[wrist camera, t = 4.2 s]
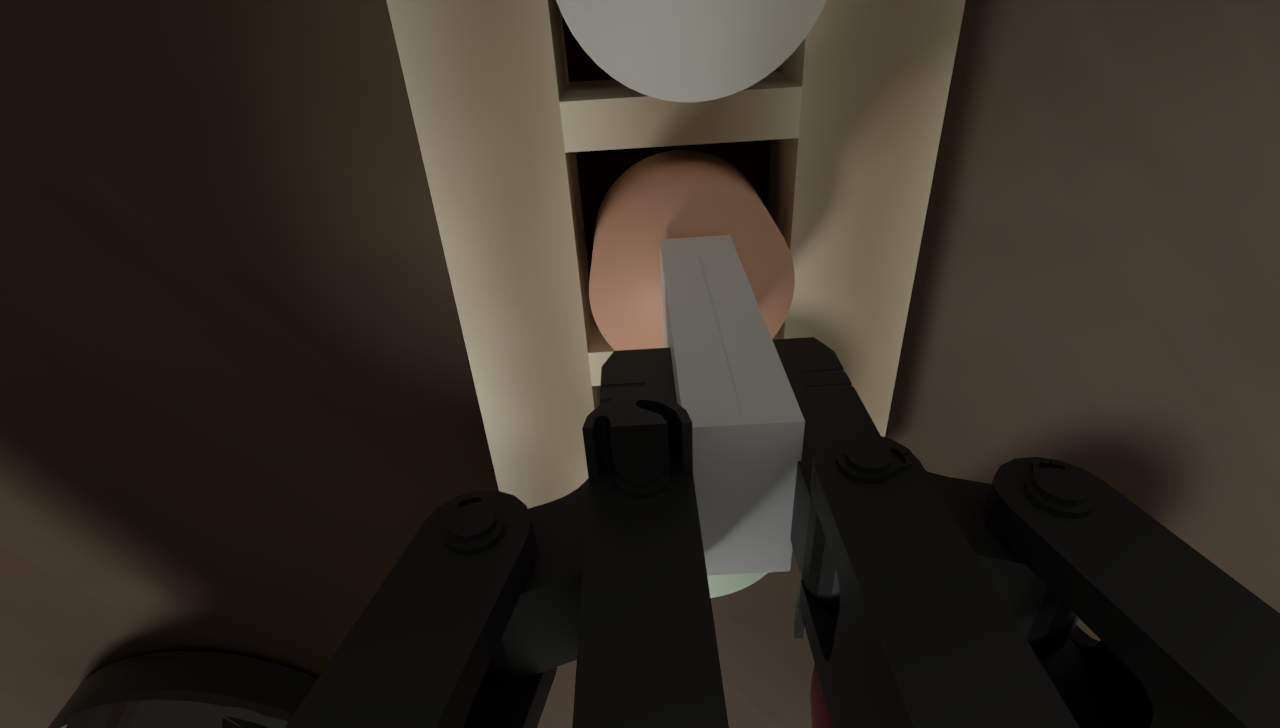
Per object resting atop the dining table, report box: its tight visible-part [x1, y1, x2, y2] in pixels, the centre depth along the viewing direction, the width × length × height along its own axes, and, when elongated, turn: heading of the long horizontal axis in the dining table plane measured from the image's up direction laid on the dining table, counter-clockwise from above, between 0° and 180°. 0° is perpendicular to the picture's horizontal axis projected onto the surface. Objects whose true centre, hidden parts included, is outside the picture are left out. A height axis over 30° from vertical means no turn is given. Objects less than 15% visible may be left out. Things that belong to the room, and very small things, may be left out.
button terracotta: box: [589, 150, 795, 351], centre depth 16 cm, size 5×5×4 cm
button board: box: [386, 0, 966, 509], centre depth 17 cm, size 12×21×3 cm, turn 3°
